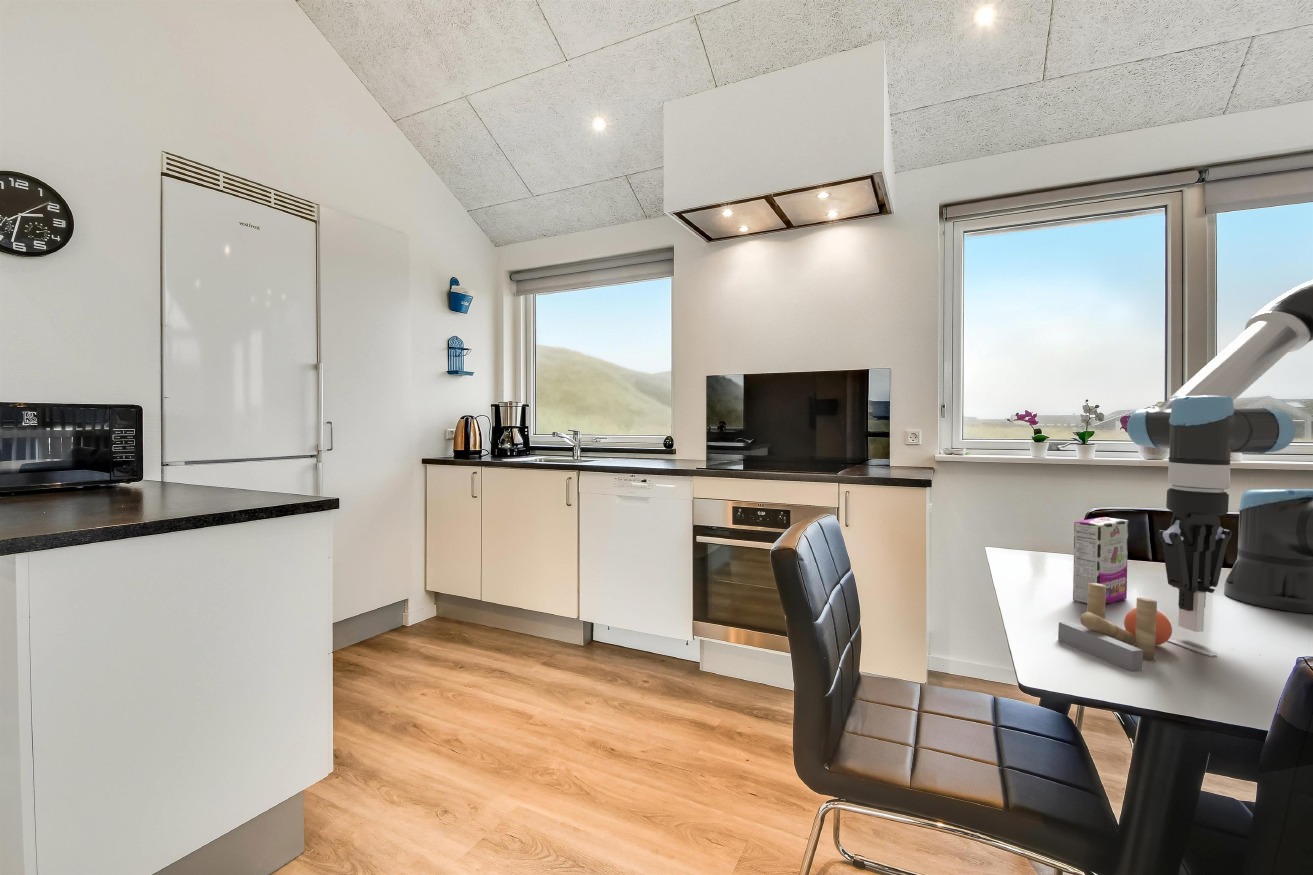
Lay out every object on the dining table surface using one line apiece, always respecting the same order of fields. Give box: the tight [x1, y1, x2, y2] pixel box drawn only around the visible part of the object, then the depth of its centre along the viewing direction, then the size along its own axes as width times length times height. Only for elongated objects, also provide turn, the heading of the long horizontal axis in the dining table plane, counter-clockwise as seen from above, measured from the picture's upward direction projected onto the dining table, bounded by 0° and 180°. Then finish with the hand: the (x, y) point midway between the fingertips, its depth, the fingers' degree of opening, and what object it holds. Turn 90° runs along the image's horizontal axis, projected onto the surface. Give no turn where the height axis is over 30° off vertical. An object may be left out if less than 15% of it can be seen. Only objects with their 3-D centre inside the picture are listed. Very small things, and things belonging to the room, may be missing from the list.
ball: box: [1123, 607, 1173, 646], centre depth 94 cm, size 6×6×6 cm
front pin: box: [1079, 611, 1135, 646], centre depth 93 cm, size 2×2×9 cm
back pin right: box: [1085, 583, 1106, 630], centre depth 97 cm, size 2×2×9 cm
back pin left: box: [1134, 597, 1158, 662], centre depth 89 cm, size 2×2×9 cm
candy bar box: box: [1072, 516, 1129, 606], centre depth 117 cm, size 11×5×16 cm, turn 117°
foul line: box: [1167, 637, 1217, 658], centre depth 96 cm, size 1×12×1 cm, turn 13°
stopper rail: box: [1057, 620, 1144, 672], centre depth 90 cm, size 2×12×3 cm, turn 12°
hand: (1190, 628), depth 96 cm, fingers closed
